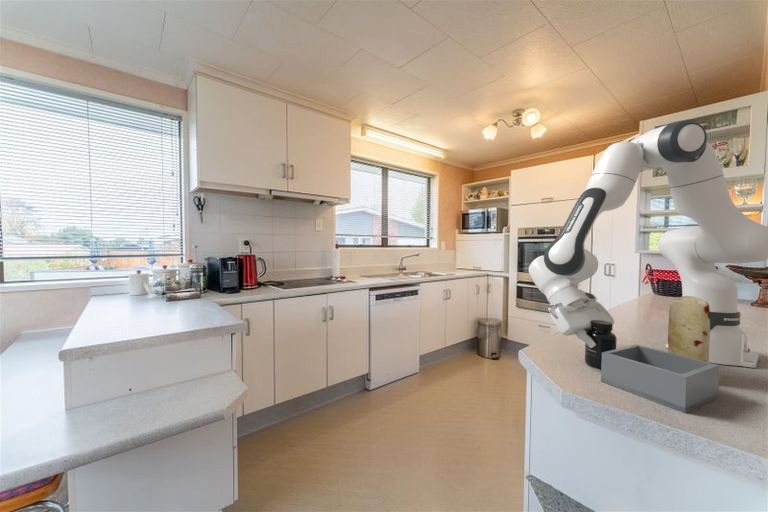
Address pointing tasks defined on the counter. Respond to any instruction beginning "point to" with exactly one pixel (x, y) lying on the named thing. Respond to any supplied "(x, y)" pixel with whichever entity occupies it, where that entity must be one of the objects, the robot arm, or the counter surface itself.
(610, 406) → the counter surface
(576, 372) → the counter surface
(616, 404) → the counter surface
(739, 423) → the counter surface
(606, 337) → the supplement bottle
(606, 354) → the bin
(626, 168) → the robot arm
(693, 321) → the food model
